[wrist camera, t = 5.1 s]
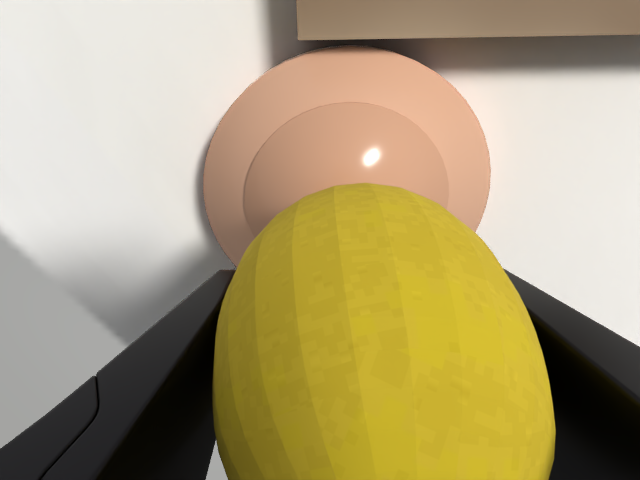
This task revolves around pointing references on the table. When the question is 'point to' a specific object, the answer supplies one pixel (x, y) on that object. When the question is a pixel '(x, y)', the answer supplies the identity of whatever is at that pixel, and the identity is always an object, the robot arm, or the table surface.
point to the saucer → (342, 140)
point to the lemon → (377, 349)
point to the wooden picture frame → (464, 18)
